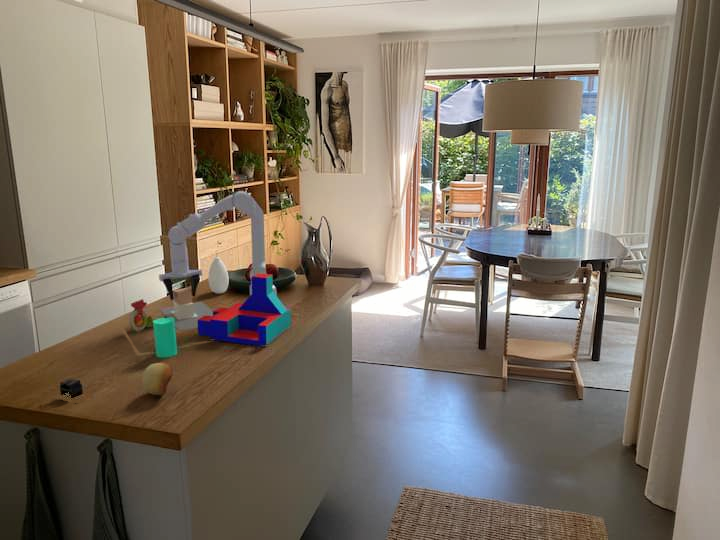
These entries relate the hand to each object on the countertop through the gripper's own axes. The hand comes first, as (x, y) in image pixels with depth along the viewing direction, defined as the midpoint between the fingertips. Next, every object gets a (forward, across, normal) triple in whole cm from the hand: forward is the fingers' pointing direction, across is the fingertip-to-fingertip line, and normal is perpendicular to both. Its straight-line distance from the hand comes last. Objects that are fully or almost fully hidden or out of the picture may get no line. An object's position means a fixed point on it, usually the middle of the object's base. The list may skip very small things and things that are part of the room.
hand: (182, 297), depth 199 cm
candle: (+7, -14, -34) cm, 37 cm away
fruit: (+7, -22, -61) cm, 65 cm away
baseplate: (+7, +2, -2) cm, 8 cm away
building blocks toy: (+7, +12, -29) cm, 32 cm away
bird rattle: (+7, -16, -8) cm, 19 cm away
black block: (+8, -41, -50) cm, 65 cm away
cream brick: (+6, 0, 0) cm, 6 cm away
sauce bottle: (+7, +20, +22) cm, 31 cm away
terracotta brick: (+2, 0, 0) cm, 2 cm away
